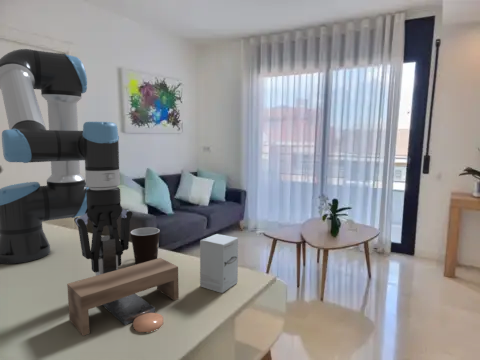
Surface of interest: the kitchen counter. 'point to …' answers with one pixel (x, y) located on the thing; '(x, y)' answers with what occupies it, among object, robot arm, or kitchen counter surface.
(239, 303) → the kitchen counter surface
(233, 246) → the supplement box
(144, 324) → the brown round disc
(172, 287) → the bench
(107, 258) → the dark gray angled bracket
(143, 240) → the coffee mug
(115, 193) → the robot arm
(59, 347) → the kitchen counter surface
